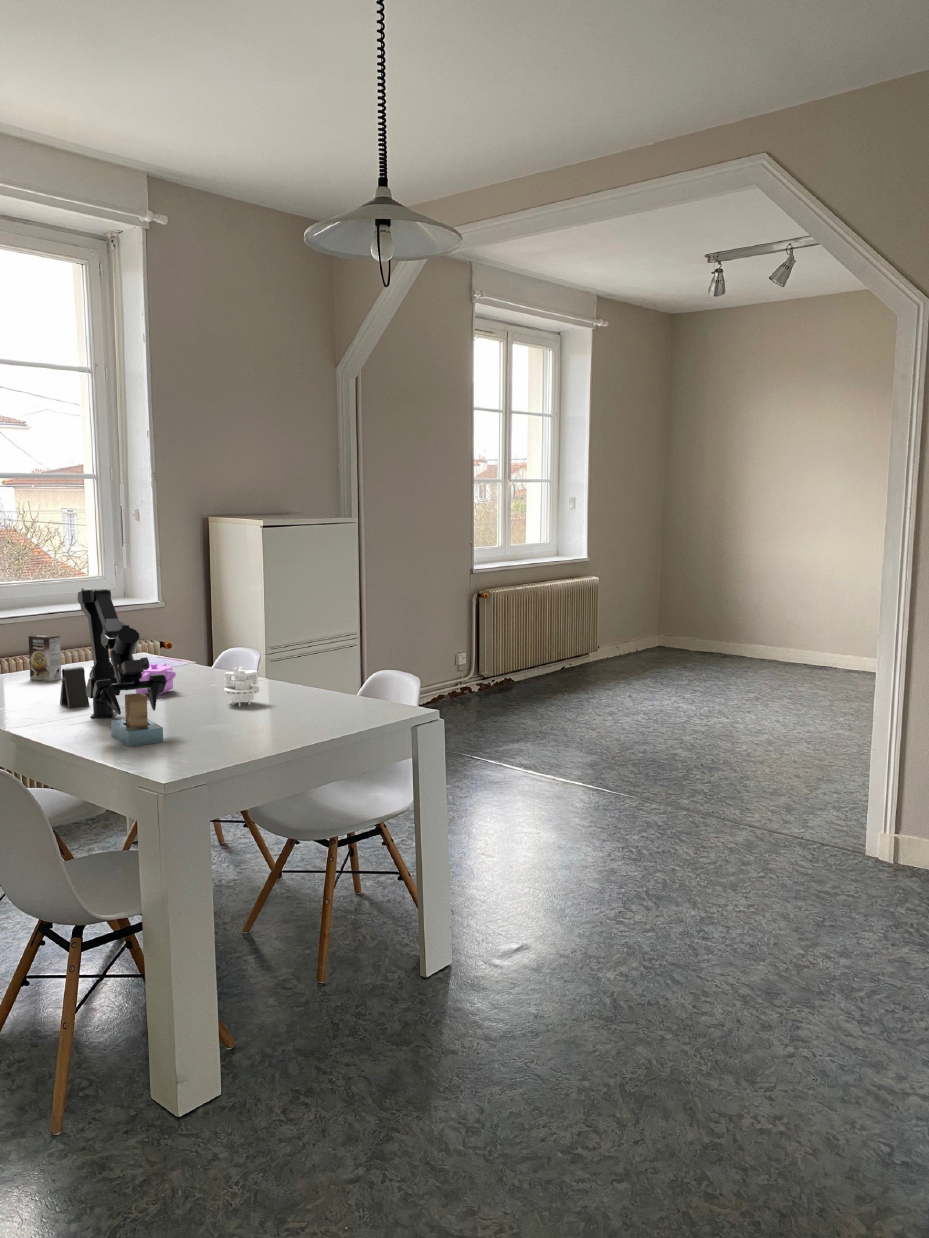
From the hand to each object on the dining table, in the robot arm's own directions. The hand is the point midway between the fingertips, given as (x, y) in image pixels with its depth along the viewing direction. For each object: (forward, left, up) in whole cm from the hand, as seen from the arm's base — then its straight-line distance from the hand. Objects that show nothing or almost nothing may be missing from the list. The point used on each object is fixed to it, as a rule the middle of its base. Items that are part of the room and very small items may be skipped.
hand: (137, 711), depth 250 cm
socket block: (-1, 0, -8) cm, 8 cm away
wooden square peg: (-1, 0, -8) cm, 8 cm away
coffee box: (-98, -46, -8) cm, 109 cm away
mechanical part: (-43, +26, -8) cm, 51 cm away
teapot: (-66, -3, -8) cm, 67 cm away
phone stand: (-49, -26, -8) cm, 56 cm away
